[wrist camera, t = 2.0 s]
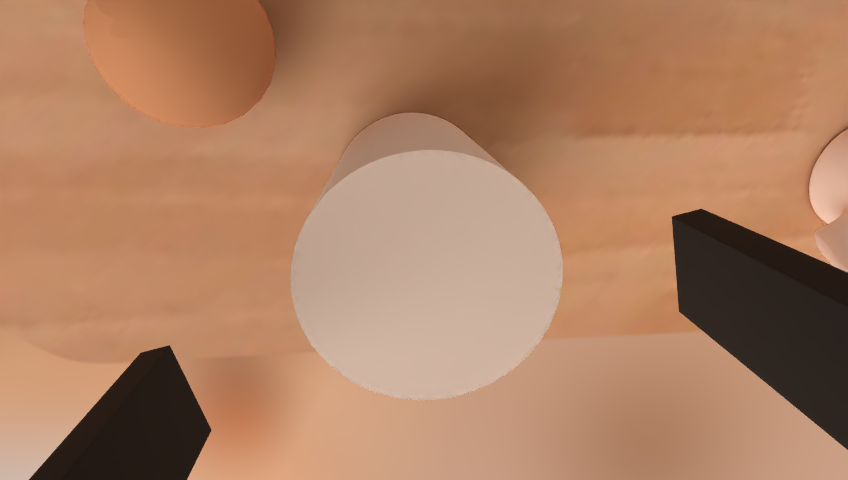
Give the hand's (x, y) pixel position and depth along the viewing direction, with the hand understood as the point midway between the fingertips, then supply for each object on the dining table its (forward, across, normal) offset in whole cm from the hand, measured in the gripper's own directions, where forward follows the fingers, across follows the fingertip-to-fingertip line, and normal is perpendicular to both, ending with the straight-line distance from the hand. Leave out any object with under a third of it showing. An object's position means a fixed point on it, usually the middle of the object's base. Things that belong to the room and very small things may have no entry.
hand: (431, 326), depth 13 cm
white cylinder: (+14, 0, 0) cm, 14 cm away
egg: (+14, -7, +9) cm, 18 cm away
